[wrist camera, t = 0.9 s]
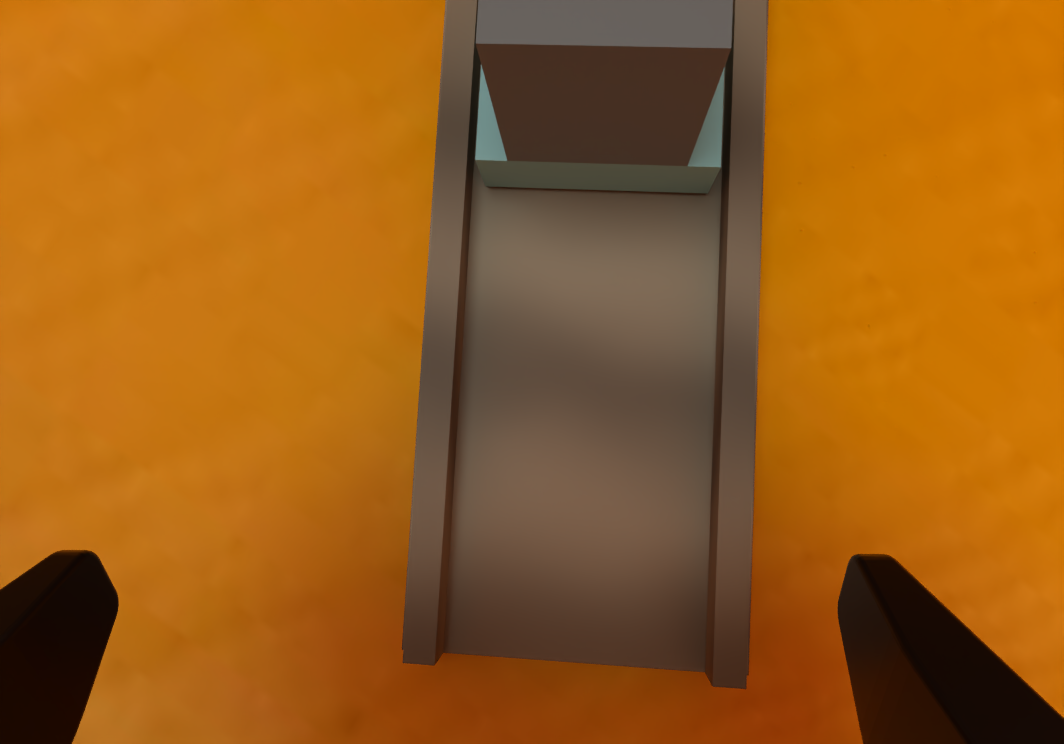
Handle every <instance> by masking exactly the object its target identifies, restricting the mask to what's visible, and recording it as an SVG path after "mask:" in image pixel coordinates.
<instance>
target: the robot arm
mask: <svg viewBox="0 0 1064 744" xmlns="http://www.w3.org/2000/svg"><path fill="white" fill-rule="evenodd" d="M117 612H118V595H117V592H116V590H115V588H114V586H113V584H112V582H111V580H110V578H109V576H108V574H107V572H106V570H105V569H104V567H103V565H102V563H101V561H100V559H99V557H98V556H97V555H96V554H95V553H93V552H92V551H88V550H62V551H57V552H55V553H53V554H51V555H50V556H48V557H47V558H45V559H44V560H42V561H41V562H39V563H38V564H37V565H35V566H34V567H32V568H31V569H29V570H28V571H26V572H25V573H24V574H22V575H21V576H19V577H18V578H16V579H15V580H13V581H12V582H11V583H9V584H8V585H6V586H5V587H3V588H2V589H0V744H72V742H73V739H74V737H75V735H76V732H77V729H78V727H79V724H80V721H81V719H82V716H83V713H84V710H85V708H86V705H87V702H88V699H89V696H90V693H91V690H92V687H93V684H94V681H95V678H96V675H97V672H98V669H99V666H100V663H101V660H102V657H103V654H104V651H105V649H106V646H107V643H108V640H109V637H110V634H111V631H112V628H113V625H114V622H115V619H116V616H117ZM838 619H839V625H840V630H841V635H842V640H843V645H844V650H845V655H846V660H847V665H848V670H849V675H850V680H851V685H852V691H853V696H854V701H855V706H856V711H857V716H858V721H859V726H860V730H861V735H862V740H863V744H1064V718H1063V717H1062V716H1061V715H1060V714H1059V713H1058V712H1057V711H1056V710H1055V709H1054V708H1053V707H1052V706H1050V705H1049V704H1048V703H1047V702H1046V701H1045V700H1044V699H1043V698H1042V697H1041V696H1040V695H1039V694H1038V693H1037V692H1036V691H1035V690H1034V689H1032V688H1031V687H1030V686H1029V685H1028V684H1027V683H1026V682H1025V681H1024V680H1023V679H1022V678H1021V677H1020V676H1019V675H1018V674H1017V673H1015V672H1014V671H1013V670H1012V669H1011V668H1010V667H1009V666H1008V665H1007V664H1006V663H1005V662H1004V661H1003V660H1002V659H1001V658H1000V657H998V656H997V655H996V654H995V653H994V652H993V651H992V650H991V649H990V648H989V647H988V646H987V645H986V644H985V643H984V642H983V641H981V640H980V639H979V638H978V637H977V636H976V635H975V634H974V633H973V632H972V631H971V630H970V629H969V628H968V627H967V626H966V625H964V624H963V623H962V622H961V621H960V620H959V619H958V618H957V617H956V616H955V615H954V614H953V613H952V612H951V611H950V610H949V609H947V608H946V607H945V606H944V605H943V604H942V603H941V602H940V601H939V600H938V599H937V598H936V597H935V596H934V595H933V594H932V593H931V592H929V591H928V590H927V589H926V588H925V587H924V586H923V585H922V584H921V583H920V582H919V581H918V580H917V579H916V578H915V577H914V576H912V575H911V574H910V573H909V572H908V571H907V570H906V569H905V568H904V567H903V566H902V565H901V564H900V563H899V562H898V561H897V560H895V559H894V558H892V557H891V556H889V555H885V554H856V555H854V556H852V557H851V559H850V560H849V563H848V566H847V570H846V574H845V577H844V581H843V585H842V589H841V592H840V596H839V600H838Z"/></svg>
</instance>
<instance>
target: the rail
mask: <svg viewBox="0 0 1064 744" xmlns="http://www.w3.org/2000/svg"><path fill="white" fill-rule="evenodd" d="M477 15H478V0H446V5H445V20H444V35H443V49H442V64H441V79H440V94H439V109H438V123H437V138H436V153H435V168H434V183H433V197H432V212H431V227H430V242H429V257H428V271H427V286H426V301H425V316H424V331H423V345H422V360H421V375H420V390H419V404H418V419H417V434H416V449H415V464H414V478H413V493H412V508H411V523H410V538H409V552H408V567H407V582H406V597H405V612H404V626H403V641H402V650H404V651H403V663H410V664H423V665H435V664H436V662H437V661H438V659H439V658H440V657H441V655H442V654H443V653H455V654H468V655H482V656H495V657H508V658H522V659H535V660H549V661H562V662H576V663H589V664H602V665H616V666H629V667H643V668H656V669H669V670H683V671H696V672H705V673H706V675H707V677H708V679H709V681H710V683H711V685H712V686H713V687H726V688H740V689H746V678H747V675H748V673H749V639H750V605H751V571H752V537H753V503H754V469H755V434H756V400H757V366H758V332H759V298H760V264H761V230H762V196H763V162H764V127H765V93H766V59H767V25H768V0H733V14H732V43H731V51H730V53H729V56H728V59H727V61H726V64H725V67H724V91H723V120H722V149H721V168H720V170H719V172H718V174H717V176H716V178H715V180H714V182H713V184H712V186H711V188H710V190H709V192H708V194H707V193H676V192H645V191H614V190H582V189H551V188H520V187H489V186H485V184H484V182H483V179H482V176H481V174H480V171H479V169H478V166H477V163H476V161H475V155H476V140H477V124H478V108H479V92H480V76H481V61H480V58H479V54H478V50H477V46H476V31H477Z"/></svg>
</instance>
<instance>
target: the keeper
mask: <svg viewBox="0 0 1064 744" xmlns="http://www.w3.org/2000/svg"><path fill="white" fill-rule="evenodd" d="M732 14H733V0H478V15H477V31H476V46H477V50H478V54H479V58H480V61H481V76H480V92H479V108H478V124H477V140H476V155H475V161H476V163H477V166H478V169H479V171H480V174H481V176H482V179H483V182H484V184H485V186H489V187H520V188H551V189H582V190H614V191H645V192H676V193H707V194H708V192H709V190H710V188H711V186H712V184H713V182H714V180H715V178H716V176H717V174H718V172H719V170H720V168H721V149H722V120H723V91H724V67H725V64H726V61H727V59H728V56H729V53H730V51H731V43H732Z"/></svg>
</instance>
